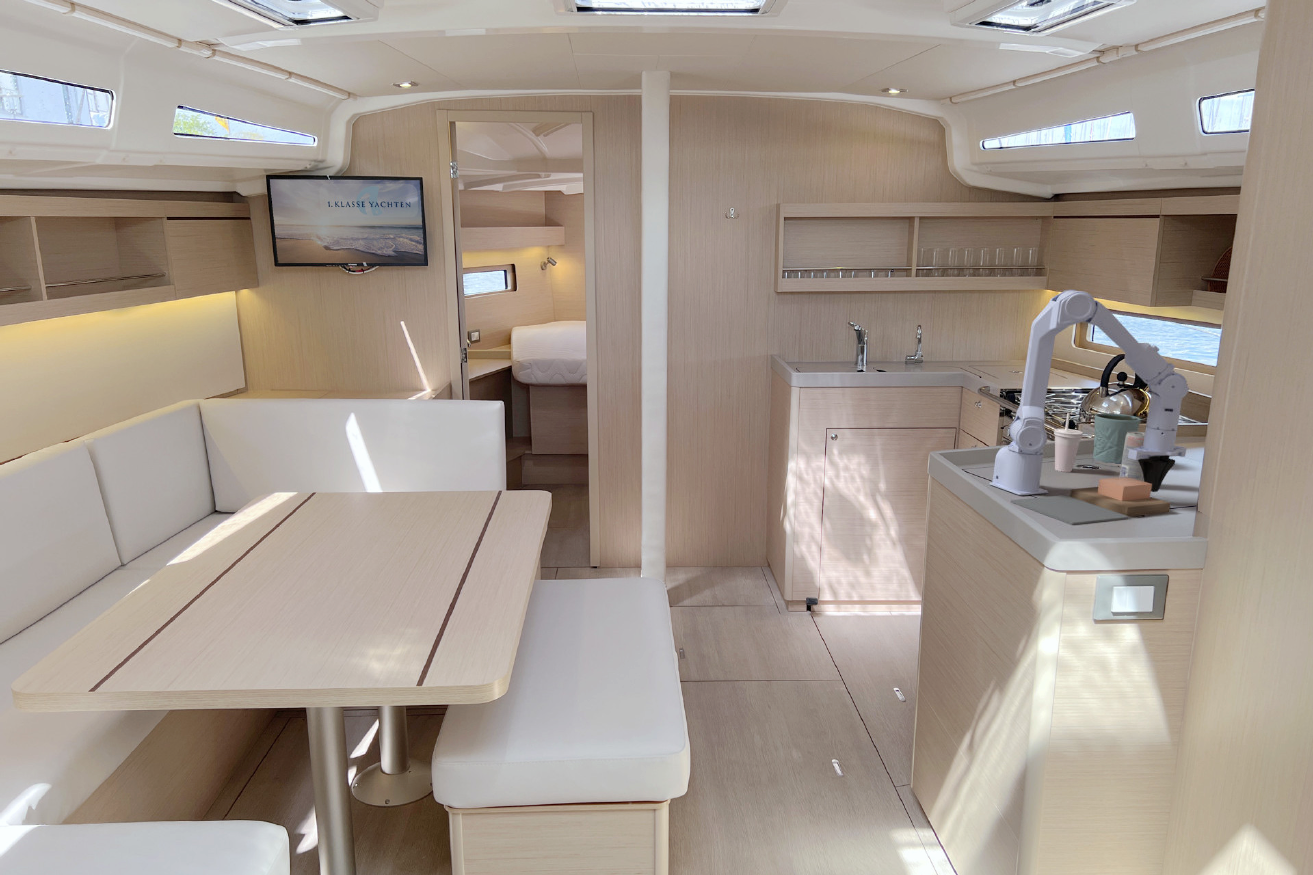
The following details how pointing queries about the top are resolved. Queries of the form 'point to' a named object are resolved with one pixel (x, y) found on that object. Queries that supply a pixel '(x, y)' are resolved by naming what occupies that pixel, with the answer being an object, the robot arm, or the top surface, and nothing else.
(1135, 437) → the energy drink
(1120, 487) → the block
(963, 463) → the top surface
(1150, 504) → the brown wooden board
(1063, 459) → the smoothie
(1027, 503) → the mat
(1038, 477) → the robot arm
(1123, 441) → the green plant pot
